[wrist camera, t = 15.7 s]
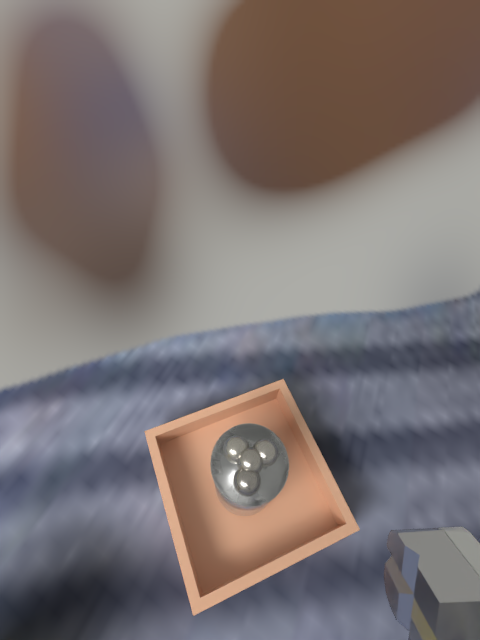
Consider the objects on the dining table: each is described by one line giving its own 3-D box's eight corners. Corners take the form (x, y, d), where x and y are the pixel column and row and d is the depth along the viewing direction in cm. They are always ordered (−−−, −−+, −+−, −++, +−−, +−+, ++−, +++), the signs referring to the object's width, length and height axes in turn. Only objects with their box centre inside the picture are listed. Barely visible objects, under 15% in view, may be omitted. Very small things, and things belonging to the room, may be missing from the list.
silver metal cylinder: (284, 501, 34) (306, 483, 24) (226, 528, 32) (227, 519, 23) (259, 442, 36) (271, 406, 27) (205, 465, 35) (198, 434, 26)
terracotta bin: (346, 531, 33) (360, 529, 30) (196, 608, 30) (193, 615, 27) (278, 393, 40) (283, 378, 37) (151, 442, 37) (144, 431, 34)
